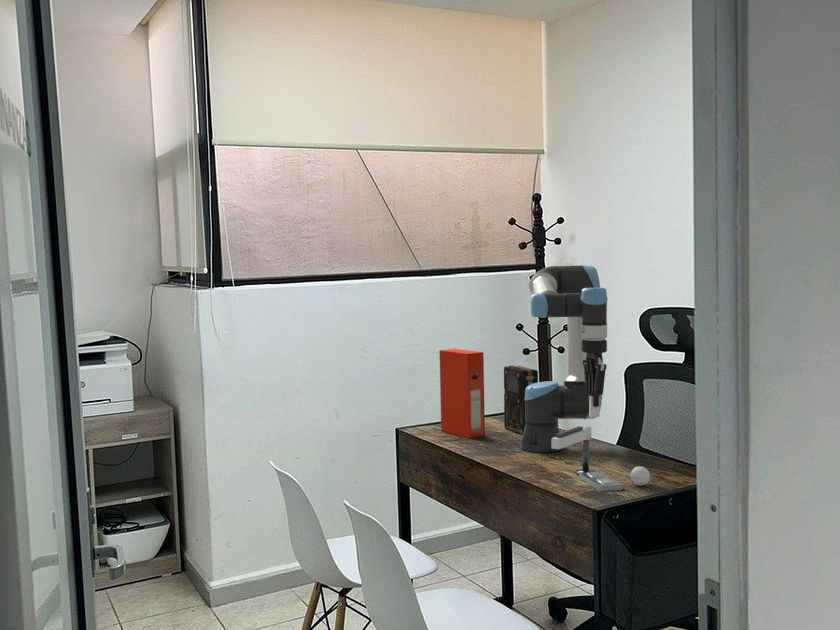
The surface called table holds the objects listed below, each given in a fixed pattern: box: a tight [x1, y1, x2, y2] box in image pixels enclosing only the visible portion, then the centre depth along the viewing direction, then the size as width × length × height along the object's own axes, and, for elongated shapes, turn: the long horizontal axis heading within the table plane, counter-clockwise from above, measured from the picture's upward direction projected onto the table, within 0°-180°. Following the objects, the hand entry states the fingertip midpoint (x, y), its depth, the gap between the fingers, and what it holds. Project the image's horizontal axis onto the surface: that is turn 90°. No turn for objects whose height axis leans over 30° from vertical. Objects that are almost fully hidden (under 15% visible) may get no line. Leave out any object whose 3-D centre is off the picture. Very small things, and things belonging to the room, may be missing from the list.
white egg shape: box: [629, 466, 651, 487], centre depth 254 cm, size 8×6×6 cm
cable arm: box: [551, 425, 592, 449], centre depth 262 cm, size 21×4×4 cm, turn 141°
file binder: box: [439, 348, 486, 439], centre depth 332 cm, size 8×17×32 cm, turn 36°
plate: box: [578, 470, 624, 492], centre depth 258 cm, size 16×7×2 cm, turn 11°
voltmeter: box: [503, 365, 539, 436], centre depth 335 cm, size 16×9×25 cm, turn 23°
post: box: [575, 440, 596, 477], centre depth 269 cm, size 6×6×11 cm
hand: (594, 416), depth 261 cm, fingers closed
